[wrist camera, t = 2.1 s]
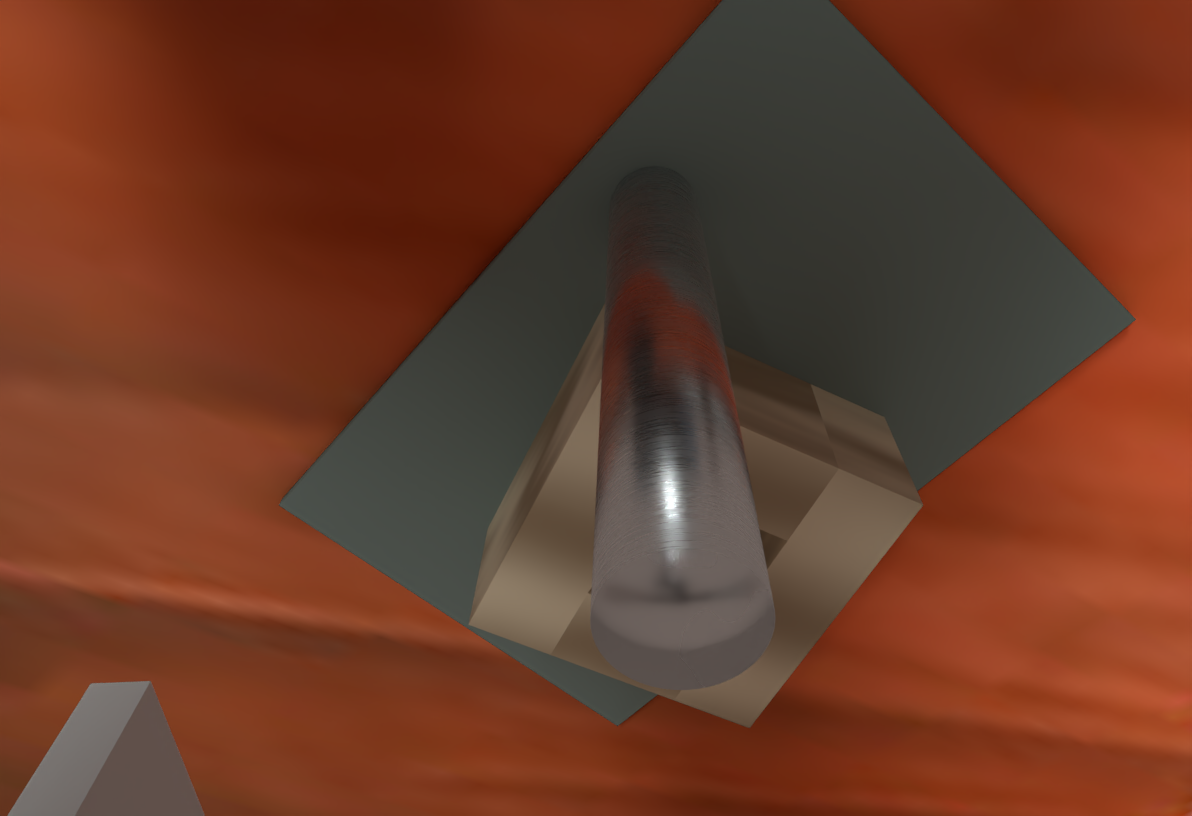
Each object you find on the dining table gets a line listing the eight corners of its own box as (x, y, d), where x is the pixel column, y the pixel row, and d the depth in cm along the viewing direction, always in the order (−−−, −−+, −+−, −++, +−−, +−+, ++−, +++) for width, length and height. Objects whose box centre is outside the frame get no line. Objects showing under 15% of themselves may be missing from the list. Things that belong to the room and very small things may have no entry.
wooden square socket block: (609, 293, 31) (606, 368, 27) (884, 416, 33) (923, 505, 29) (487, 528, 36) (468, 625, 31) (735, 624, 38) (749, 728, 33)
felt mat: (773, -58, 27) (774, -56, 26) (1130, 314, 32) (1136, 319, 31) (282, 498, 36) (278, 505, 36) (617, 718, 41) (617, 726, 40)
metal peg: (633, 151, 29) (641, 522, 13) (713, 189, 30) (810, 590, 14) (594, 229, 30) (560, 653, 15) (672, 264, 31) (719, 711, 15)
